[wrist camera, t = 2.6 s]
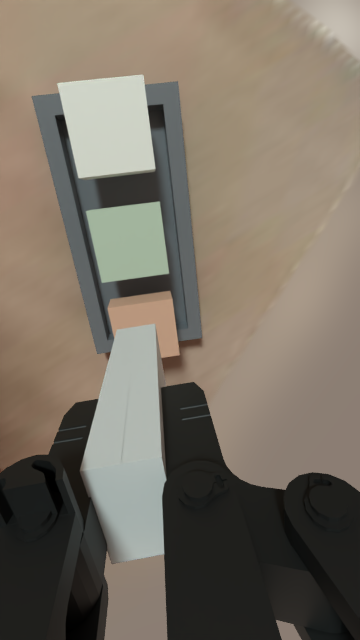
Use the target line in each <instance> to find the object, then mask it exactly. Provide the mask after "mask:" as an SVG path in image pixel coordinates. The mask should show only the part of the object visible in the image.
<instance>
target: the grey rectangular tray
mask: <svg viewBox="0 0 360 640" xmlns="http://www.w3.org/2000/svg"><path fill="white" fill-rule="evenodd" d="M145 92H146V100H147V107H148V115H149V123H150V130H151V138H152V146H153V153H154V161H155V172H149V173H141V174H132V175H124V176H115V177H107V178H98V179H90V180H83V179H79V178H78V174H77V169H76V165H75V160H74V156H73V151H72V147H71V142H70V138H69V134H68V129H67V125H66V120H65V116H64V111H63V107H62V102H61V98H60V93H58V94H48V95H38V96H32V99H33V103H34V107H35V111H36V115H37V119H38V123H39V127H40V131H41V135H42V139H43V143H44V147H45V151H46V154H47V158H48V162H49V166H50V170H51V174H52V178H53V182H54V186H55V190H56V194H57V198H58V202H59V206H60V210H61V213H62V217H63V221H64V225H65V229H66V233H67V237H68V241H69V245H70V249H71V253H72V257H73V261H74V265H75V269H76V272H77V276H78V280H79V284H80V288H81V292H82V296H83V300H84V304H85V308H86V312H87V316H88V320H89V324H90V328H91V331H92V335H93V339H94V343H95V347H96V351H97V354H100V353H106V352H111V350H112V346H113V342H114V335H113V331H112V326H111V322H110V317H109V313H108V305H109V302H110V299H115V298H122V297H129V296H136V295H143V294H150V293H157V292H164V291H170V292H171V296H172V299H173V307H174V315H175V322H176V330H177V338H178V341H185V340H191V339H198V338H202V331H201V321H200V310H199V299H198V289H197V278H196V268H195V257H194V246H193V236H192V225H191V214H190V204H189V193H188V183H187V172H186V161H185V151H184V140H183V129H182V119H181V108H180V98H179V87H178V82H168V83H158V84H148V85H145ZM150 202H160V207H161V215H162V223H163V230H164V238H165V246H166V253H167V261H168V269H169V274H162V275H155V276H148V277H141V278H134V279H126V280H119V281H112V282H105V283H102V281H101V277H100V272H99V268H98V263H97V259H96V254H95V250H94V245H93V241H92V237H91V232H90V228H89V223H88V219H87V214H86V211H88V210H94V209H102V208H110V207H118V206H126V205H134V204H142V203H150Z"/></svg>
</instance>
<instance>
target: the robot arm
mask: <svg viewBox="0 0 360 640" xmlns="http://www.w3.org/2000/svg"><path fill="white" fill-rule="evenodd" d="M107 551H108V554H109V557H110V560H111V563H112V564H115V563H120V562H125V561H131V560H136V559H142V558H147V557H152V556H157V555H163V554H164V560H165V584H166V585H165V586H166V611H167V637H168V640H282V639H281V636H280V633H279V630H278V626H277V623H276V620H280V621H283V622H287V623H291V624H294V626H295V628H296V630H297V632H298V633H299V635H300V637H301V639H302V640H360V492H359V491H358V490H356V489H355V488H354V487H352V486H351V485H350V484H348V483H347V482H346V481H344V480H341V479H339V478H336V477H334V476H331V475H329V474H322V473H308V474H304V475H299V476H298V477H296V478H295V479H294V480H292V481H291V482H290V483H289V484H288V486H287V488H286V490H282V489H274V488H266V487H260V486H256V485H251V484H249V483H247V482H245V481H243V480H240V479H239V478H238V477H237V476H235V475H234V474H233V473H232V472H231V471H230V470H229V469H228V467H227V466H226V464H225V462H224V460H223V456H222V453H221V449H220V446H219V443H218V439H217V436H216V433H215V429H214V425H213V422H212V418H211V416H210V412H209V408H208V405H207V401H206V398H205V394H204V391H203V390H202V389H201V388H200V387H199V386H198V385H197V384H195V383H194V382H191V383H185V384H179V385H173V386H167V387H166V382H165V376H164V371H163V365H162V359H161V353H160V348H159V342H158V336H157V330H156V325H155V324H149V325H143V326H137V327H130V328H124V329H117V331H116V335H115V339H114V342H113V346H112V350H111V354H110V358H109V361H108V365H107V369H106V373H105V377H104V381H103V384H102V388H101V392H100V396H99V399H95V400H89V401H83V402H77V403H75V404H74V405H73V406H72V408H71V409H70V410H69V411H68V412H67V413H66V414H65V415H64V417H63V420H62V422H61V425H60V427H59V432H57V435H56V437H55V439H54V444H53V445H52V447H51V449H50V452H49V454H48V455H35V456H32V457H28V458H25V459H22V460H20V461H18V462H16V463H15V464H13V465H11V466H9V467H7V468H6V469H5V470H3V471H2V472H1V473H0V640H104V636H105V626H106V617H107V607H108V586H107V582H106V580H105V577H104V568H105V560H106V552H107Z"/></svg>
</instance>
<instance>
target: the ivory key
mask: <svg viewBox="0 0 360 640" xmlns="http://www.w3.org/2000/svg"><path fill="white" fill-rule="evenodd" d="M57 84H58V89H59V93H60V98H61V102H62V107H63V111H64V116H65V120H66V125H67V129H68V134H69V138H70V142H71V147H72V151H73V156H74V160H75V165H76V169H77V174H78V178H79V179H83V180H90V179H98V178H107V177H115V176H124V175H132V174H141V173H149V172H155V161H154V153H153V146H152V138H151V130H150V123H149V115H148V107H147V100H146V92H145V84H144V77H143V75H134V76H124V77H114V78H104V79H93V80H83V81H73V82H63V83H57Z"/></svg>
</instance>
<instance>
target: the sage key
mask: <svg viewBox="0 0 360 640" xmlns="http://www.w3.org/2000/svg"><path fill="white" fill-rule="evenodd" d="M86 214H87V219H88V223H89V228H90V232H91V237H92V241H93V245H94V250H95V254H96V259H97V263H98V268H99V272H100V277H101V281H102V283H105V282H112V281H119V280H126V279H134V278H141V277H148V276H155V275H162V274H169V269H168V261H167V253H166V246H165V238H164V230H163V223H162V215H161V207H160V202H150V203H142V204H134V205H126V206H118V207H110V208H102V209H94V210H88V211H86Z"/></svg>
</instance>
